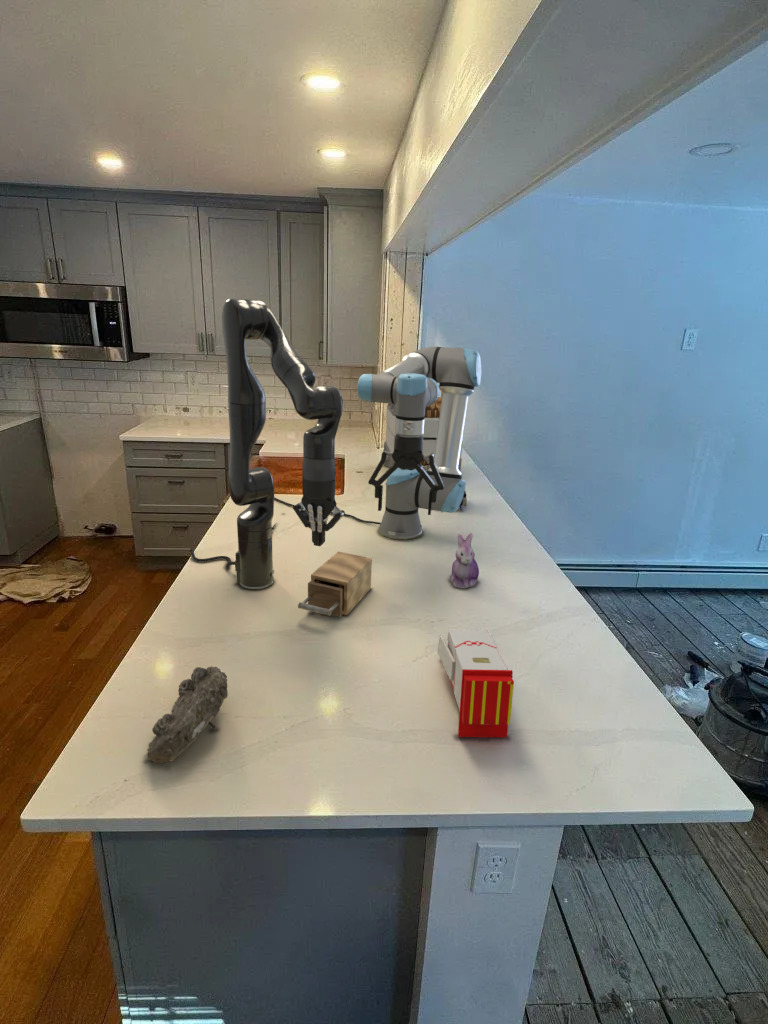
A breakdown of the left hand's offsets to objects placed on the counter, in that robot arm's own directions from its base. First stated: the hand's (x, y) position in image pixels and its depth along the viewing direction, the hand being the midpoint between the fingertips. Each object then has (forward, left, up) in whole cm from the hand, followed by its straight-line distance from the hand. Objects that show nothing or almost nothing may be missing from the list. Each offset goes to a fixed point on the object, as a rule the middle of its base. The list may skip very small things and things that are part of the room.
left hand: (318, 544), depth 135 cm
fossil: (-7, -42, -21) cm, 48 cm away
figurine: (+32, +35, -21) cm, 52 cm away
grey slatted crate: (-6, +145, -21) cm, 146 cm away
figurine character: (+19, +102, -21) cm, 106 cm away
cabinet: (+1, +14, -21) cm, 25 cm away
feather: (-38, +54, -21) cm, 70 cm away
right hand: (+15, +27, +2) cm, 30 cm away
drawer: (+1, +8, -20) cm, 21 cm away
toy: (+40, -15, -21) cm, 48 cm away
